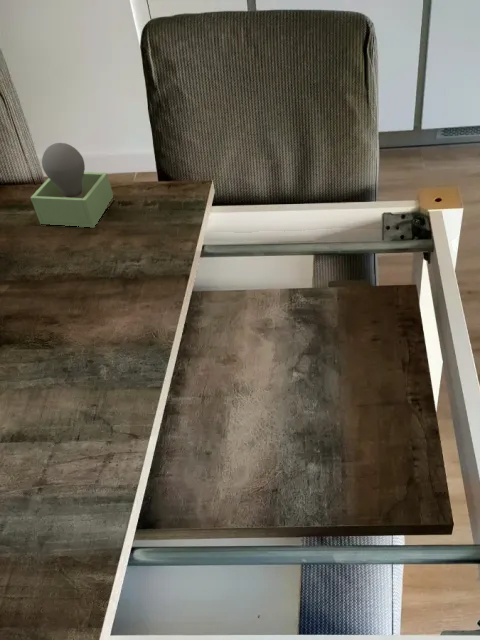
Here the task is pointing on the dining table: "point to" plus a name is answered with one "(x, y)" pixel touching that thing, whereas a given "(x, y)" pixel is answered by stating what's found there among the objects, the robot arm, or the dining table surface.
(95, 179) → the box
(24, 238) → the dining table surface
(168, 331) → the dining table surface
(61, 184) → the light bulb
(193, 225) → the dining table surface
